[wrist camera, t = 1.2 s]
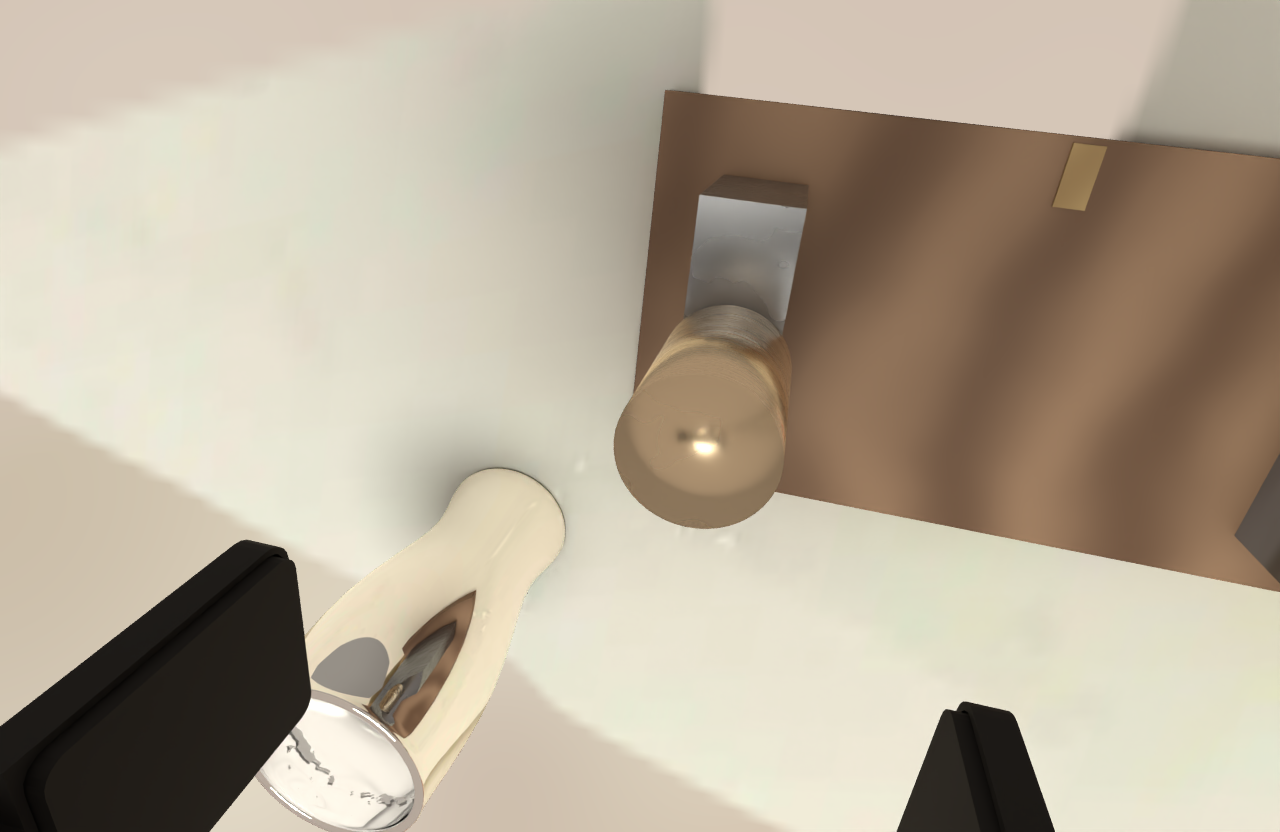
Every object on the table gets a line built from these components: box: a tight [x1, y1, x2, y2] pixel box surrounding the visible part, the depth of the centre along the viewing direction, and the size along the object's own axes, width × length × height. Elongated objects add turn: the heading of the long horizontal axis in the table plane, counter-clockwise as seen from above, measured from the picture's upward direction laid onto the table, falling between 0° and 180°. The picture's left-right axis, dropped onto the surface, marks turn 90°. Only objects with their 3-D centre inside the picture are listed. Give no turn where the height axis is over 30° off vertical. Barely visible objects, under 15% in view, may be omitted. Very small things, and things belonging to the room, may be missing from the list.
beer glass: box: [255, 468, 565, 832], centre depth 29 cm, size 7×7×15 cm
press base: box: [634, 90, 1280, 592], centre depth 24 cm, size 28×15×8 cm, turn 85°
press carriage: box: [614, 174, 809, 529], centre depth 22 cm, size 4×10×12 cm, turn 175°
